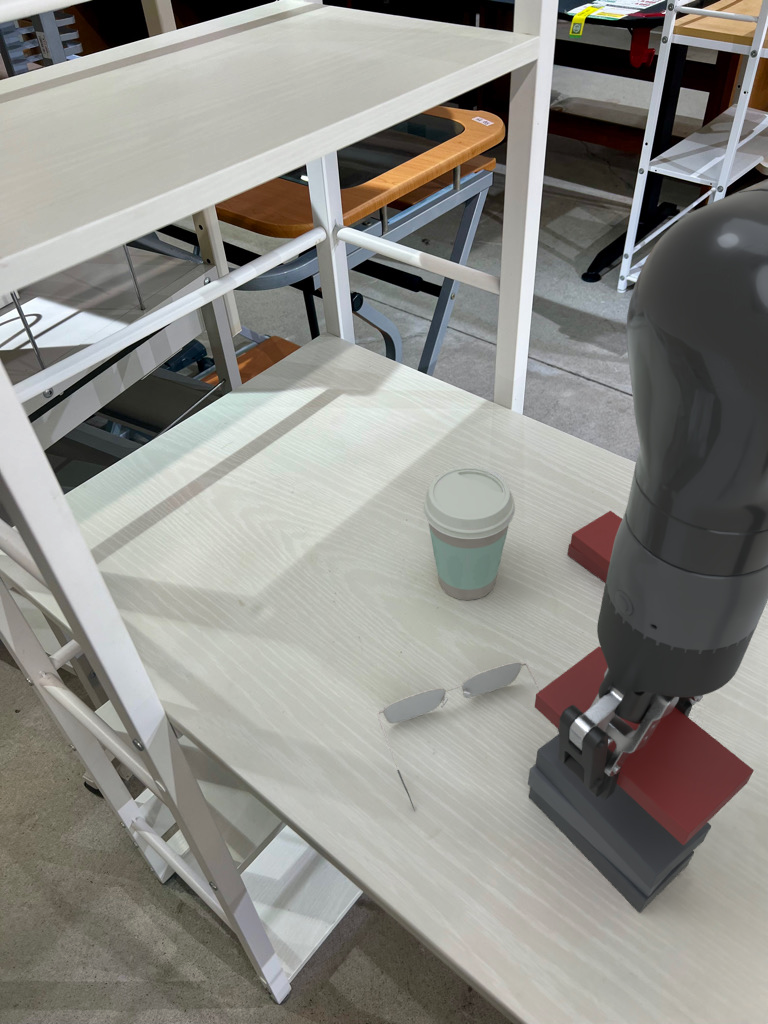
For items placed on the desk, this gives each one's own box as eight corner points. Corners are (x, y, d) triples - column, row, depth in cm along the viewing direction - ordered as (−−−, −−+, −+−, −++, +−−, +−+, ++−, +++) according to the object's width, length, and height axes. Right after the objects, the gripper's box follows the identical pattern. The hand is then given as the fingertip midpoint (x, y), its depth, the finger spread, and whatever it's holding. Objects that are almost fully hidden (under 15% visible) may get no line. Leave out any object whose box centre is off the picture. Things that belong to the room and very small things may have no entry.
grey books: (692, 864, 55) (716, 821, 50) (639, 918, 52) (658, 878, 48) (574, 752, 62) (585, 705, 57) (522, 795, 59) (529, 749, 55)
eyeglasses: (523, 679, 67) (527, 655, 64) (566, 759, 62) (573, 737, 59) (377, 728, 65) (375, 706, 62) (409, 816, 59) (409, 796, 56)
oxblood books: (697, 594, 73) (704, 572, 71) (657, 625, 71) (664, 603, 69) (603, 530, 80) (608, 508, 78) (565, 556, 78) (568, 534, 76)
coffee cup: (523, 596, 74) (532, 508, 66) (444, 621, 73) (444, 534, 65) (487, 540, 80) (491, 453, 72) (413, 562, 79) (409, 475, 71)
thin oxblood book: (747, 783, 46) (754, 769, 45) (683, 846, 43) (689, 834, 42) (596, 659, 53) (599, 645, 52) (534, 707, 51) (535, 693, 50)
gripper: (651, 715, 33) (601, 870, 44) (833, 560, 39) (747, 733, 50) (529, 613, 37) (512, 777, 49) (707, 489, 43) (655, 661, 55)
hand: (631, 754), depth 49 cm, fingers closed on thin oxblood book, 6 cm apart
